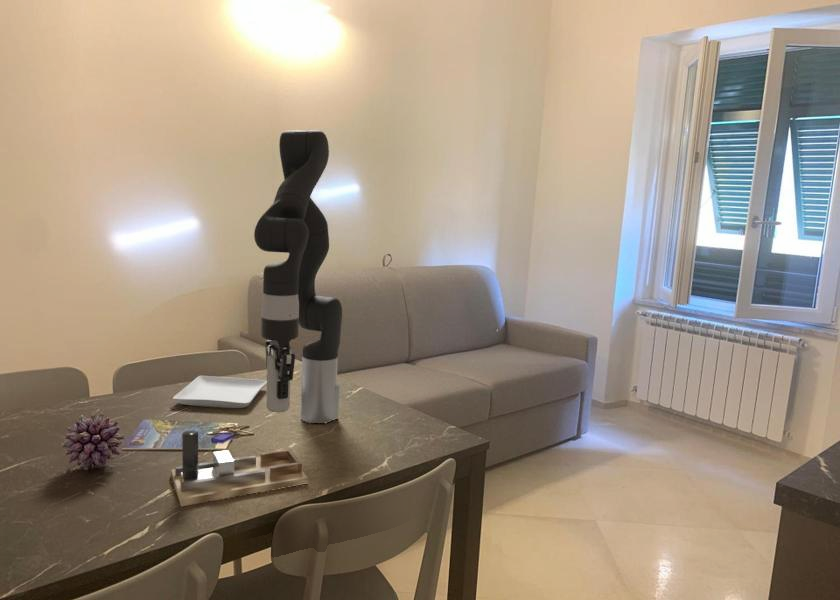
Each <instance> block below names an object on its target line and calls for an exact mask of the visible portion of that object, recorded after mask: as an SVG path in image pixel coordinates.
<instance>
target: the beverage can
mask: <svg viewBox="0 0 840 600" xmlns="http://www.w3.org/2000/svg"><path fill="white" fill-rule="evenodd" d="M277 365H278V366H281V363H278V361H277ZM284 375H286V371H285V372H284ZM266 381H267V383H266V409H267V410H268V411H269V412H271V413H277V414H278V413H284V412H285V413H286V412H287V411H288V410H289V409H290V405H291V380H290V381H288V398H286V399H278V398H277V374H276V371H275V370H274V360H273V357H272V355H271V354H268V357H267V367H266Z"/></svg>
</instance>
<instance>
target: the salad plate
mask: <svg viewBox="0 0 840 600" xmlns="http://www.w3.org/2000/svg"><path fill="white" fill-rule="evenodd" d="M265 386H267V379H266V380H265V379H255V378H246V377H245V378H244V377H231V376H229V377H228V376H214V375H212V376H210V375H198V376H197V377H196V378H194V380H192V381H191V382H190V383H188V384H187V385H186V386H185V387H184V388H183V389H181V390H180V391H179V392H177V393H176V394H175V395H174V396H172V400H174V402H176V403H178V404H180V405H186V406H190V407H191V406H194V407H209V408H226V409H227V408H228V409H243V408H247V407H248V406H250V404H251V403H252V401H253V400H254V398H255V397H256V396H257V394H258V393H259V392H260V391H261V390H262V389H263V388H264V387H265Z"/></svg>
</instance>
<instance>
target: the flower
mask: <svg viewBox="0 0 840 600" xmlns="http://www.w3.org/2000/svg"><path fill="white" fill-rule="evenodd" d="M104 416H105V414H104V412H100V413H99V415H97V417H96V415H95V413H92V414H91V415H90V417H89V418H87V417H85V416H84V415H83V414H81V415H79V416H78V419H79V420H76V421H75V424H74V425H73V427H70V426H67V427H66V428H65V430H67V432H68V433H65V436H64V437H65V439H66V441H65V442H62V443H60V445H61V448H67V450H66V451H65V455H66V456H68V455H70V457H69V458H68V459H67V461H68V463H72V462H75V461H77V462H76V465H78V466H80V465H82V464H83V466H84V467H83V470H85V471H88V470H89V467H90V466H91V465H93V468H97V467H98V464H100V465H101V466H102V467H103V468H105V467H107V466H108V464H107V460H108V461H109V460H113V459H115V456H114V455H117V456H120V454H121V452H120V451H119V450H118V449H117V448H119V447H120V446H121V445H122V444H123V443H122V441H121V440H125V435H121V434H118V432H119V431H121V429H122V428H121V426H120V425H119V426H117V425H118V424H119V423H120V422H119V420H115V421H113V422H110V419H111V417H110V416H107V417H106V418H105V417H104Z"/></svg>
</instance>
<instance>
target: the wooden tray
mask: <svg viewBox="0 0 840 600" xmlns="http://www.w3.org/2000/svg"><path fill="white" fill-rule="evenodd" d="M233 459H234V474H232V475H226V476H219V477H213V478H207V479H200V480H194V481H188V482H183V481H182V478H181V472H182V465H180V466H175V468H172V469H170V477H171V481H172V484H173V487H174V490H175V493H176V495H177V499H178V502H179V504H180V507H185V506H191V505H198V504H202V503H203V504H204V503H208V501H210V502H214V501H220V499H221V500H226V499H225V498H227V499H231V498H230V497H233V498H236V497H235V496H238V497H241V496H240V495H244V496H247V495H246V494H250V495H252V494H251V493H256V494H258V493H257V492H261V493H264V492H263V491H267V492H270V491H269V490H272V489H273V491H275V490H274V489H278V488H282V487H288V486H293V485H297V484H302V483H309V478H308V475H306V473H305V472H304V471H303V463H302V462H301V460H300V459H299V458H298V457H297V456H296V454H295V453H294V452H293V451H292V449H291V448H288V449H281V450H274V451H268V452H260V456H256V455H249V456H241V457H235V458H233ZM212 467H213V461H207V462H200V463H199V462H198V470H199V469H206V468H212Z"/></svg>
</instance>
